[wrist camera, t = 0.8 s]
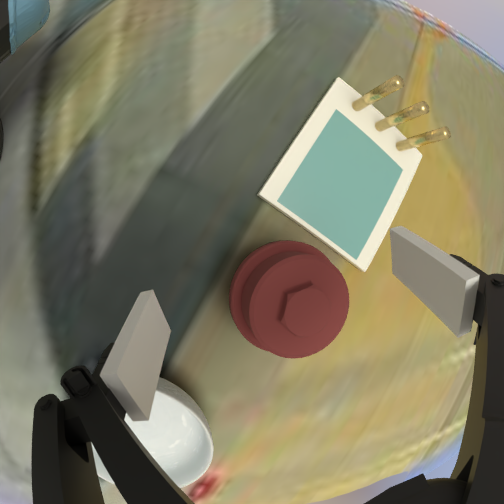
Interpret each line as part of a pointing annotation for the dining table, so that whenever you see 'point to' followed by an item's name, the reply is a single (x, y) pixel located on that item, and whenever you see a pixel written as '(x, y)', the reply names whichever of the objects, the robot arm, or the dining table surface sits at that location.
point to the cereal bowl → (172, 436)
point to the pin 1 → (378, 93)
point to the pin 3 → (423, 139)
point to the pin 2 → (402, 116)
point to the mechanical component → (288, 299)
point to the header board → (343, 176)
